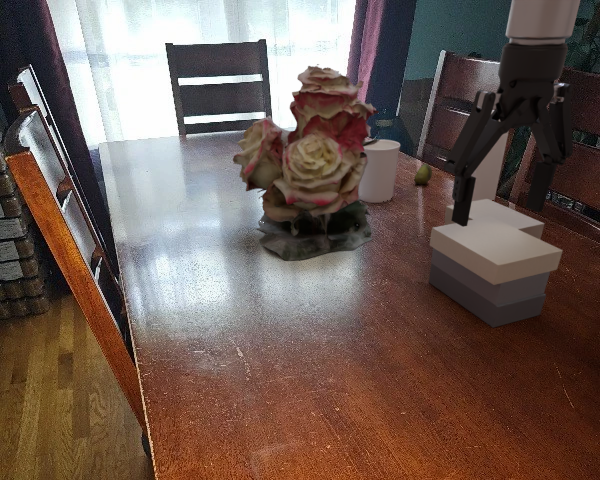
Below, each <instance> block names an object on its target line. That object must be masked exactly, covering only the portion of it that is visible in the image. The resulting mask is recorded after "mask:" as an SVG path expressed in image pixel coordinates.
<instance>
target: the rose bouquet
mask: <svg viewBox="0 0 600 480" xmlns="http://www.w3.org/2000/svg"><path fill="white" fill-rule="evenodd" d="M319 65H320V64H319V63H317V64H316V65H315V66H311V65H308V66H307V68H306V69H305V70H304V71H303V72H301V73H298V75H297V81H299V82H300V83H301V87H300V89H299V90H298V91H292V92H291V95H292V98H293V100H292V101H291V102H290V104H289V110H290V112H291V114H292V116H293V118H294V120H295V122H296V126H295V129H294V130H288V129H284V128H282V127H280V126H278V124H276V123H275V122H274V120H273V119H272V116H271V115H268V116H266V117H262V118H260V119H259V120H256V121H254V122H252V125H251V126H249V127H248V128H246V129H245V130H244V133H243V139H241V140H239V141H237V142H236V144H237V145H238V146H239V148H240V149H241V150H242V151H241V152H238V153H236V154H234V155H233V157H232V162H233V164H234V165H240V166H241V168H240V172H239V175H238V176H239V178H241V182H242V183H244V184H246V186H245V187H246V188H245V192H250V191H253V190H259V191H257V193H260V192H263V191H265V192H263V193H262V195H260V196H259V197H258V199H259V200H261V198H262V201H261V204H262V206H261V207H262V211H263V215H262V216H261V217H260V219H259V220H258V221H257V222H258V225H259V227H255V229H256V230H260V231H262V232H264V233H265V234H266V235H264V236H262V237H261V238H259V239H258V241H259V243H260V245H261V246H262V247H264V248H267V249H268V250H271V251H272V252H274V253H276V254H278V255H279V257H280V258H281V259H282V260H284V261H296V260H297V261H299V260H305V259H306V260H307V259H310V258H314V257H317V256H321V255H323V254H327V253H331V252H339V251H354V250H356V249H358V247H360V246H361V245H363V244H365V243H368V242H370V241H372V240H373V238H372V228H371V227H370V225H369V222H368V220H367V219H368V218H367V216H370V217H371V216H372V215H371V213H370V212H369V210H368V208H369V206H368V204H364V203H361V200H360V197H361V196H362V195H361V196H360V197H359V192H358V190H359V185H360V182H361V179H362V176H363V174H364V172H365V168H366V166H367V163H368V158H367V154H365V153H364V152H363V151H365V150H364V146H368V145H372V144H375V143H377V142H378V141H379V140H381V139H380V138H379V139H378V138H377V139H370V140H371V141H370V142H369V141H368V142H365V141H366V139H367V138H368V137H371V136H372V135H371V129H372V126H371V125H369V124H368V123H367V121H368V120H369V118H370V117H374V116H375V114H379V113H380V111H379V110H377V108H376V107H375V106H373V105H372V103H371V102H370V103H365V102H364V101H362V100H361V99H358V96H359V95H358V94H359V90H360V89H362V88H363V86H364V80H359V81H358V82H357V83H356V84H355V85H354V84H353V83H352V82H351V81H350V79H351V77H348V76H346V75H343V74H342V73H340V71H339V70H335V69H333V68H331V67H324V68H322V67H319ZM260 221H261V222H260ZM263 222H264V223H263Z"/></svg>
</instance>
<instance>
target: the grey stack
mask: <svg viewBox="0 0 600 480" xmlns="http://www.w3.org/2000/svg"><path fill="white" fill-rule="evenodd" d="M550 275H551V271H549V272H545V273H541V274H537V275H533V276H529V277H525V278H521V279H516V280H512V281H508V282H504V283H500V284H496V285H493V284H491V283H490V282H488V281H487V280H485V279H483V278H482V277H480V276H478V275H477V274H475V273H474V272H472V271H470V270H469V269H467V268H465V267H464V266H462V265H461V264H459V263H457V262H456V261H454V260H452V259H451V258H449V257H447V256H446V255H444V254H443V253H441V252H439V251H438V250H436V249H434V248H433V247H432V252H431V260H430V269H429V278H428V284H431V285H432V286H433V287H434V288H436V289H437V290H439V291H440V292H442V293H443V294H444V295H446V296H447V297H449V298H450V299H451V300H453V301H455V302H456V303H457V304H458V305H460V306H461V307H463V308H464V309H466V310H467V311H468V312H470V313H471V314H473V315H474V316H475V317H477V318H478V319H480V320H482V321H483V322H484V323H486V324H487V325H488V326H489V327H491V328H493V329H494V328H496V327H501V326H505V325H508V324H512V323H516V322H519V321H523V320H526V319H530V318H534V317H538V316H541V314H542V310H543V306H544V304H545V300H546V297H547V294H546V293H545V291H546V287H547V285H548V281H549V277H550Z"/></svg>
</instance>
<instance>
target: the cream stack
mask: <svg viewBox="0 0 600 480" xmlns="http://www.w3.org/2000/svg"><path fill="white" fill-rule="evenodd" d="M453 208H454V204H450V205H446V208H445V212H444V214H445V215H444V220H443V221H444V225H448V224H453V223H455V222H453V221H451V220H452V214H453ZM489 216H491V217H493V218H495V219H497V220H499V221H501V222H503V223H505V224H508V225H510V226H512V227H514V228H516V229H518V230H520V231H522V232H525V233H527V234H529V235H531V236H533V237H535V238H537V239H540V240H542V239H541V238H542V234H543V231H544V227H545V222H542V221H540V220H538V219H535V218H533V217H530V216H528V215H526V214H525V213H521V212H519V211H517V210H514V209H513V208H510V207H508V206H505V205H503V204H501V203H499V202H496V201H495V200H494V201H492V200H489V199H483V200H477V201H472V203H471V208H470V213H469V219H468V221H469V220H474V219H479V218H484V217H489Z"/></svg>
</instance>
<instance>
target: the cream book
mask: <svg viewBox="0 0 600 480" xmlns="http://www.w3.org/2000/svg"><path fill="white" fill-rule="evenodd" d="M429 246H430V247H431V248H432V249H433V248H434V249H436V250H438V251H439V252H441V253H443V254H444V255H446V256H447V257H449V258H451V259H452V260H454V261H456V262H457V263H459V264H461V265H462V266H464V267H465V268H467V269H469V270H470V271H472V272H474V273H475V274H477V275H478V276H480V277H482V278H483V279H485V280H487V281H488V282H490V283H491V284H493V285H496V284H500V283H504V282H508V281H512V280H516V279H521V278H525V277H529V276H533V275H537V274H541V273H545V272H549V271H550V272H553V271H557V270H558V269H559V268H558V267H559V264H560V261H561V258H562V255H563V251H564V250H563V249H561V248H559V247H556V246H555V245H552V244H550V243H548V242H546V241H543V240H542V239H537V238H535V237H533V236H531V235H529V234H527V233H525V232H522V231H520V230H518V229H516V228H514V227H512V226H510V225H508V224H505V223H503V222H501V221H499V220H497V219H495V218H493V217H491V216H489V217H484V218H479V219H474V220H469V221H468V224H467V226H464V227H462V226H460V225H459V224H457V223H453V224H448V225H445V224H444V225H439V226H433V227H431V232H430V240H429Z"/></svg>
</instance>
